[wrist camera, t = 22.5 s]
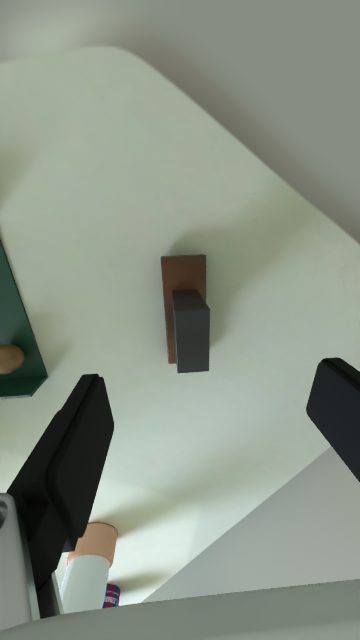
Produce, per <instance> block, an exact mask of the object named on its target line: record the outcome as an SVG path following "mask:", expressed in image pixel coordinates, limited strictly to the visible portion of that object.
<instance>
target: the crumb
mask: <svg viewBox="0 0 360 640" xmlns="http://www.w3.org/2000/svg"><path fill="white" fill-rule="evenodd" d="M23 362H24V353H23V351H22V350H21V349H20V348H19V347H18V346H16V345H13V344H1V345H0V374H9V373H12V372H14V371H16V370H17V369H19V368H20V367H21V365H22V364H23Z"/></svg>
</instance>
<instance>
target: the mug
mask: <svg viewBox="0 0 360 640" xmlns="http://www.w3.org/2000/svg"><path fill="white" fill-rule="evenodd" d="M119 596H120V589H119V588H118V587H116V586H113V585H107V586H106V593H105V599H104V603H103V607H102V608H109V607H117V606H118V604H119Z"/></svg>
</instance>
